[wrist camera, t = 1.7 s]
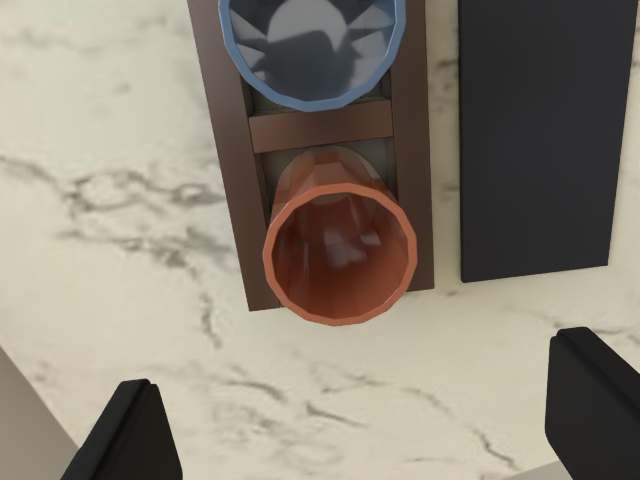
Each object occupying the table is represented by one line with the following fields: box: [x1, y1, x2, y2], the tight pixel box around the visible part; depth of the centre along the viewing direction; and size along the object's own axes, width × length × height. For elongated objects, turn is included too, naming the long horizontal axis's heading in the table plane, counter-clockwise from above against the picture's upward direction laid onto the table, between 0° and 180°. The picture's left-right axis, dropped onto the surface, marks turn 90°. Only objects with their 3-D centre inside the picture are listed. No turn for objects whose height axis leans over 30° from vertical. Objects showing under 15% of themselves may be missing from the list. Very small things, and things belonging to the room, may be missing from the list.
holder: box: [187, 0, 434, 311], centre depth 26 cm, size 12×22×3 cm, turn 7°
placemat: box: [458, 0, 638, 283], centre depth 28 cm, size 20×10×1 cm, turn 7°
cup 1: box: [218, 0, 406, 112], centre depth 21 cm, size 7×7×10 cm
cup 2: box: [262, 145, 417, 326], centre depth 25 cm, size 7×7×10 cm
